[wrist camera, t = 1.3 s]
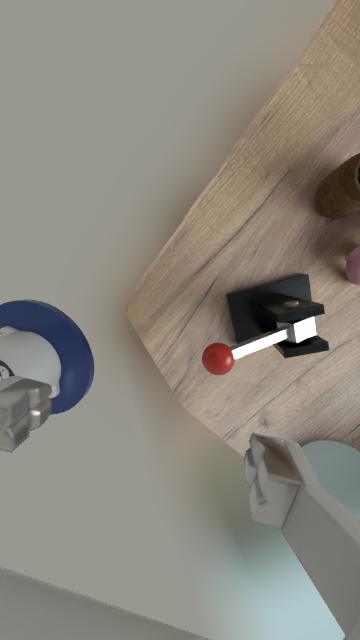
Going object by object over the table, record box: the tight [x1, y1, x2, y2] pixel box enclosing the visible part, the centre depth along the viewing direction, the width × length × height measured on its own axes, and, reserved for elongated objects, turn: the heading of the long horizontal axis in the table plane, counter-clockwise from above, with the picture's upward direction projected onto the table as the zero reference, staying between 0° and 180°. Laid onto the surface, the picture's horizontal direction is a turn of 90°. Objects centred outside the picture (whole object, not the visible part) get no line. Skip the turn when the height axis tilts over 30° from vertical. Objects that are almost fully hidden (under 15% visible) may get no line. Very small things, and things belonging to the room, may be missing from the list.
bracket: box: [226, 274, 329, 358], centre depth 25 cm, size 12×9×12 cm
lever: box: [202, 316, 316, 375], centre depth 20 cm, size 13×3×3 cm, turn 104°
